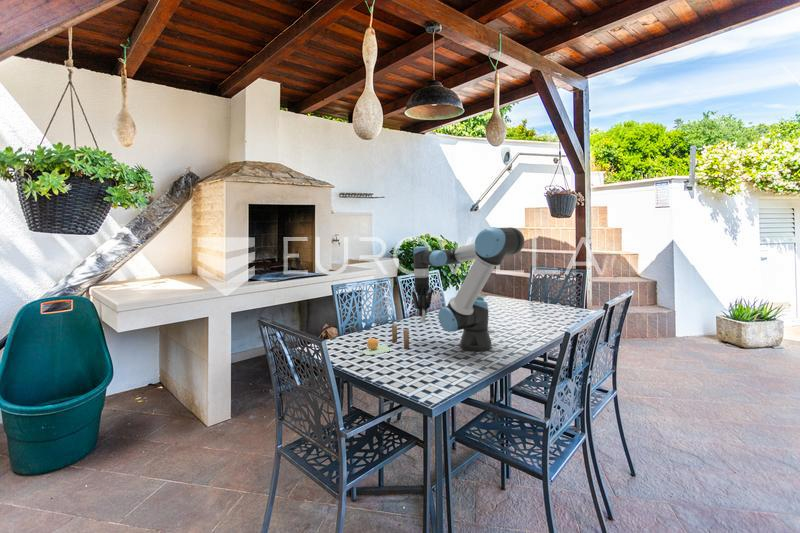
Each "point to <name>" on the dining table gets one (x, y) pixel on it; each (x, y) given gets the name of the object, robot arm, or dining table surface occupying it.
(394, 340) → the post
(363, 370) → the dining table surface
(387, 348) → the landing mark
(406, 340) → the post
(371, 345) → the ball
